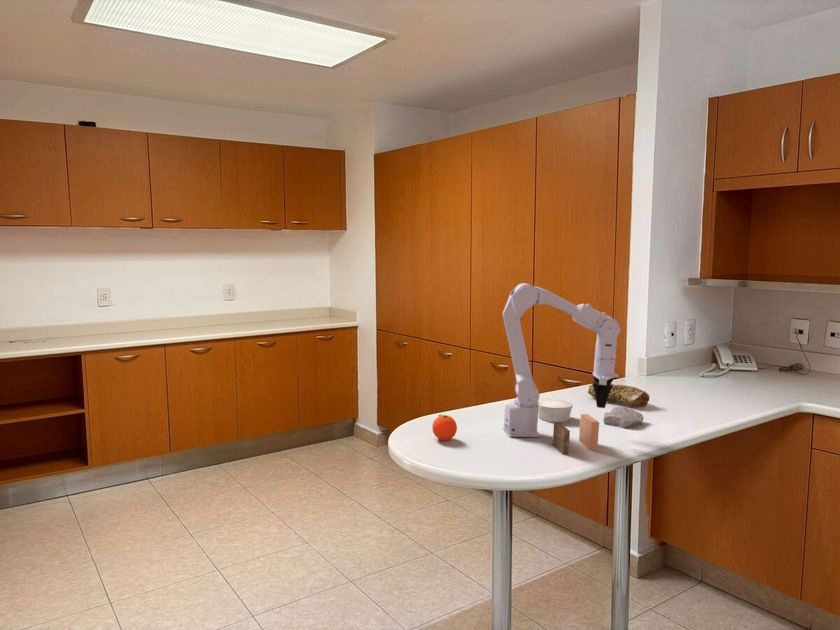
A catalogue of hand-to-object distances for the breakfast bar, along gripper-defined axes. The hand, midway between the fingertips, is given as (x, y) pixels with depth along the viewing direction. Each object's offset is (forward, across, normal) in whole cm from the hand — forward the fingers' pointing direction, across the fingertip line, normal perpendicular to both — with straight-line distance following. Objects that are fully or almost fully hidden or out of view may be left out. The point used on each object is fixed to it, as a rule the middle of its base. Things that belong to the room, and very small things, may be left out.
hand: (601, 404), depth 177 cm
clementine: (+11, -20, +42) cm, 47 cm away
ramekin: (+10, +15, +14) cm, 23 cm away
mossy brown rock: (+10, +46, -5) cm, 48 cm away
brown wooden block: (+10, -15, +10) cm, 21 cm away
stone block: (+10, +19, -8) cm, 23 cm away
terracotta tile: (+10, -9, +3) cm, 14 cm away
